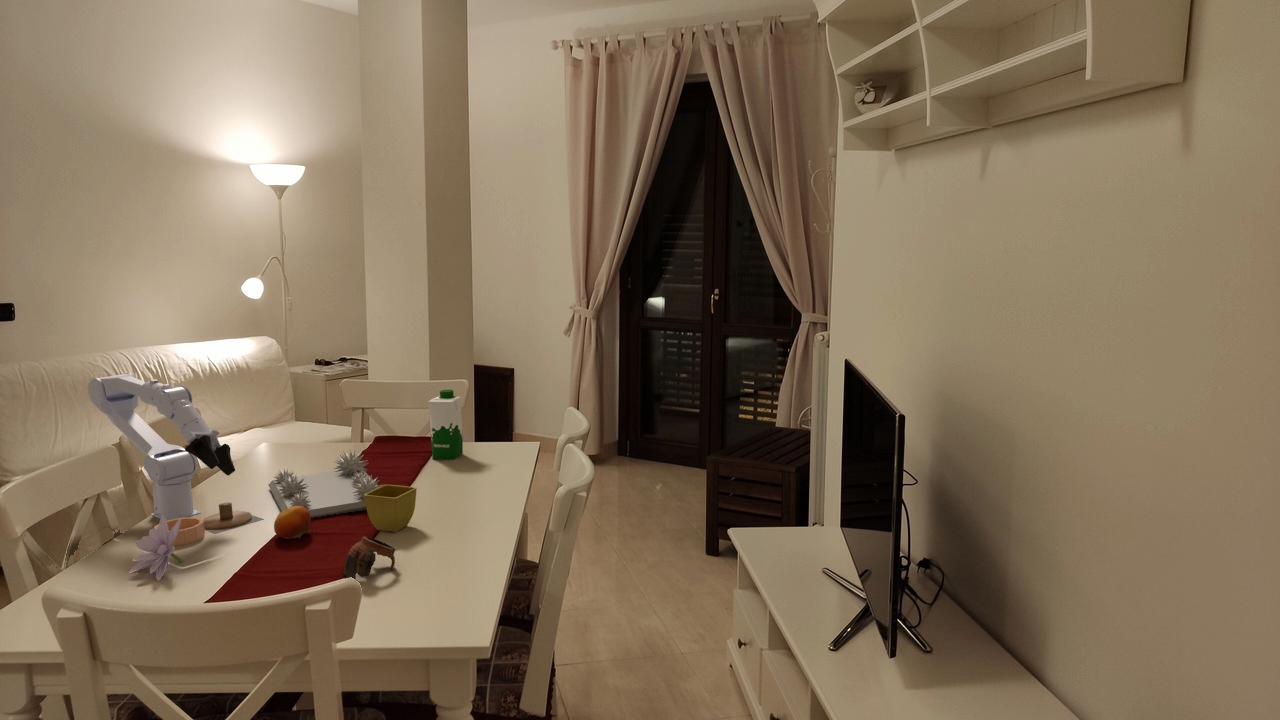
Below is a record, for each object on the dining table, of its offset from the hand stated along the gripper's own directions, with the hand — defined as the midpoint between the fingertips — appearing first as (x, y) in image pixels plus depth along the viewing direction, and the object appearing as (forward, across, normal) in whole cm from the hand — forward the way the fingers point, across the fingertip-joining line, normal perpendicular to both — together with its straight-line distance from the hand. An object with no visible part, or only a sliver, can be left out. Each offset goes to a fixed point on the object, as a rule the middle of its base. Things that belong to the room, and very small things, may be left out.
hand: (223, 469), depth 206 cm
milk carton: (+11, +63, -38) cm, 74 cm away
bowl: (+7, 0, +16) cm, 18 cm away
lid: (+6, +10, +9) cm, 14 cm away
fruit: (+24, +2, -4) cm, 24 cm away
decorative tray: (+12, +28, -10) cm, 31 cm away
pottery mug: (+48, -18, -16) cm, 54 cm away
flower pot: (+36, +6, -21) cm, 42 cm away
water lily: (+17, -16, +18) cm, 30 cm away
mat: (+7, +10, +9) cm, 15 cm away
